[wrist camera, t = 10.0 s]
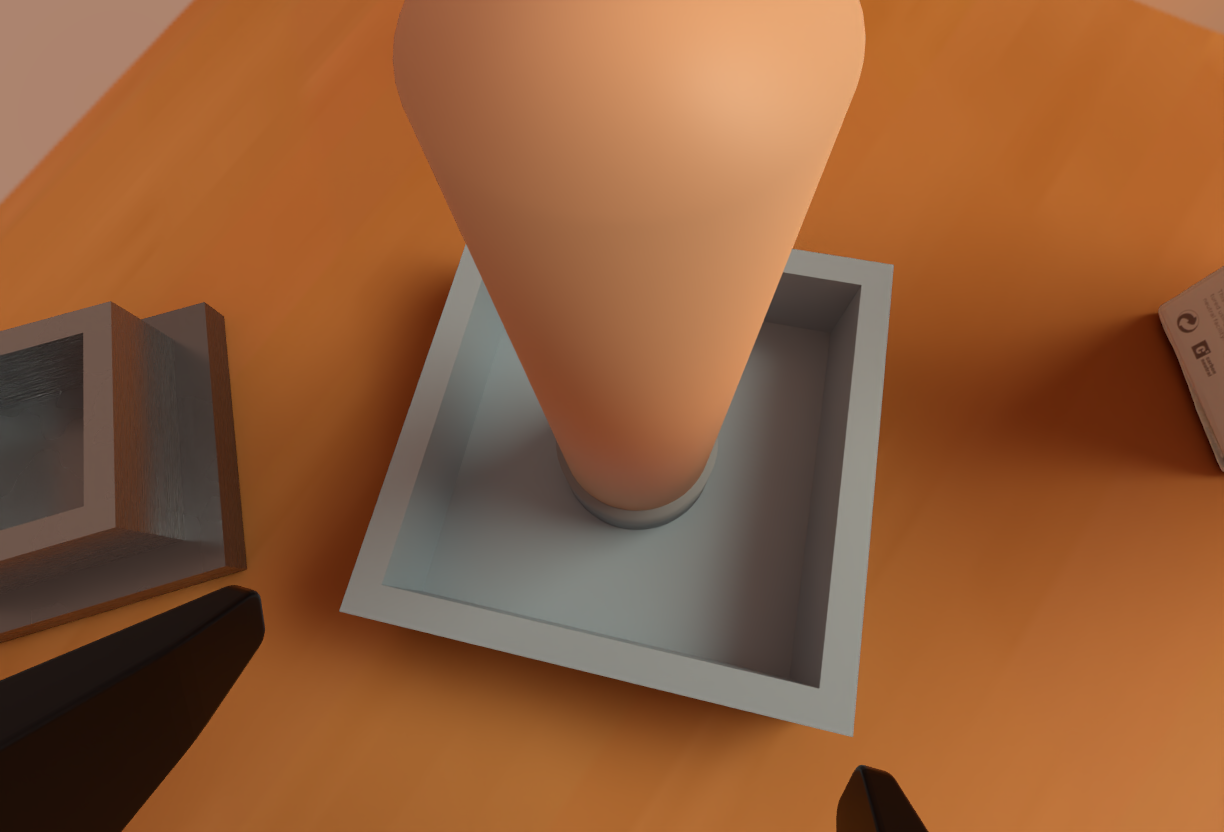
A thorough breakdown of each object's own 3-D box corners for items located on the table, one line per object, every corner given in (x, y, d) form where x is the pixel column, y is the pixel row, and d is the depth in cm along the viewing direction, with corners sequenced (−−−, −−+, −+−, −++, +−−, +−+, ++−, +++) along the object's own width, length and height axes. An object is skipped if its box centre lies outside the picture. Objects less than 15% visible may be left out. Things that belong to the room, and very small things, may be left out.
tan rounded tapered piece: (693, 546, 17) (853, 298, 4) (547, 509, 18) (287, 189, 5) (723, 405, 19) (914, -114, 6) (586, 375, 19) (465, -165, 6)
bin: (810, 715, 16) (852, 736, 13) (395, 614, 18) (338, 611, 15) (852, 324, 20) (893, 264, 17) (505, 265, 22) (481, 199, 18)
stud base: (246, 569, 18) (160, 556, 15) (-55, 659, 18) (-212, 666, 15) (223, 316, 21) (147, 259, 18) (-37, 388, 21) (-164, 343, 18)
